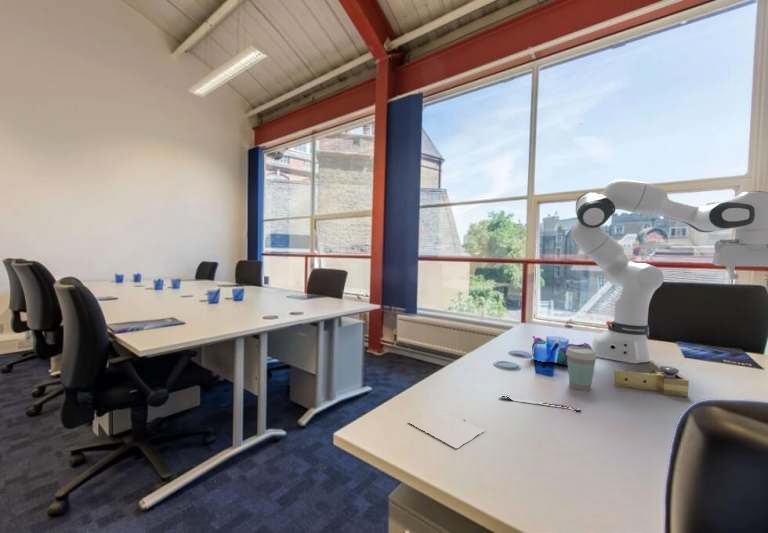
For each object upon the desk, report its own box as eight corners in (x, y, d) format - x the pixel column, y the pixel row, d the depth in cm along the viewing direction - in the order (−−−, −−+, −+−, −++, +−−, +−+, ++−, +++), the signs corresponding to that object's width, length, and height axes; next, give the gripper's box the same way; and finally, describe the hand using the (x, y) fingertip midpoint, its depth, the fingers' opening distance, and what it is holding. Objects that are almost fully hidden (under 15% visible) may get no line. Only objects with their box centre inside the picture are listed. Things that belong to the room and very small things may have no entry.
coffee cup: (593, 384, 110) (594, 348, 110) (597, 394, 102) (599, 355, 102) (563, 380, 114) (565, 344, 113) (565, 389, 106) (566, 351, 105)
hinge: (687, 397, 101) (688, 380, 101) (617, 388, 107) (618, 373, 107) (660, 376, 118) (661, 362, 118) (601, 369, 124) (601, 356, 124)
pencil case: (591, 365, 129) (592, 340, 129) (593, 372, 122) (594, 346, 121) (532, 357, 139) (532, 333, 138) (530, 363, 131) (531, 339, 130)
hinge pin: (661, 392, 104) (662, 369, 104) (657, 387, 108) (658, 365, 108) (679, 395, 102) (680, 372, 102) (675, 390, 106) (676, 367, 106)
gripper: (720, 239, 116) (718, 279, 116) (801, 238, 109) (798, 281, 110) (709, 239, 121) (707, 278, 122) (785, 239, 115) (783, 280, 115)
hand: (751, 279), depth 116 cm, fingers open, 8 cm apart
